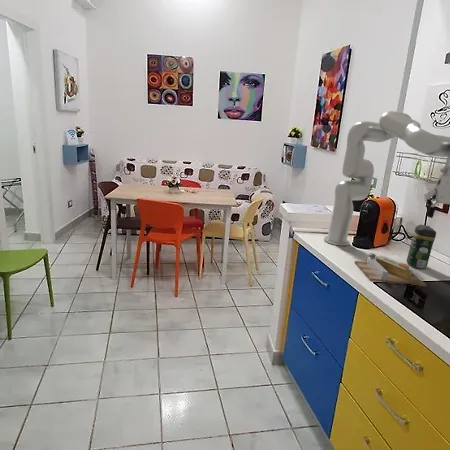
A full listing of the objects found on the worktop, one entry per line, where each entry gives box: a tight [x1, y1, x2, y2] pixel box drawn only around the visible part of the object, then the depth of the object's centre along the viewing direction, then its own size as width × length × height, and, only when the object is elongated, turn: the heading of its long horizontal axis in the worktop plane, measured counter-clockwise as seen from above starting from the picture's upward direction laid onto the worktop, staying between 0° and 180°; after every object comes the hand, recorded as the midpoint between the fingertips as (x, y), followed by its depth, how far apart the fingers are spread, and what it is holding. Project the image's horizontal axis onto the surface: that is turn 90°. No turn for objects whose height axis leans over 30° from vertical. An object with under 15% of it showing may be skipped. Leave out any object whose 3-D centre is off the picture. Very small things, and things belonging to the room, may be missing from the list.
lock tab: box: [398, 262, 410, 270], centre depth 145 cm, size 3×3×4 cm
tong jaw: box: [375, 256, 413, 280], centre depth 144 cm, size 15×2×4 cm, turn 34°
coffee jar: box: [406, 224, 437, 270], centre depth 156 cm, size 10×8×19 cm
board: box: [354, 260, 427, 288], centre depth 144 cm, size 18×22×2 cm
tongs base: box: [366, 252, 388, 281], centre depth 143 cm, size 18×3×4 cm, turn 179°
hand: (441, 218), depth 133 cm, fingers open, 9 cm apart
